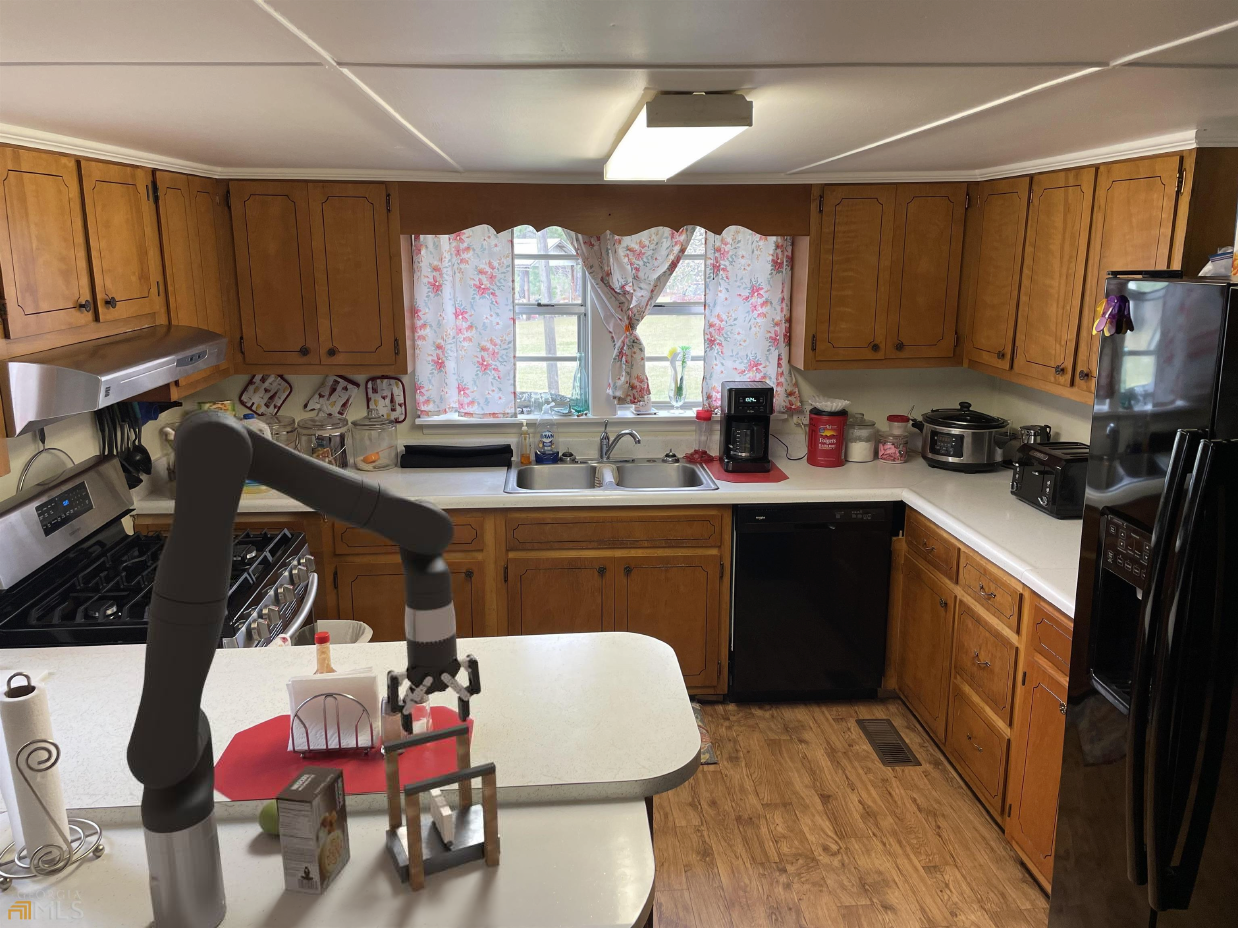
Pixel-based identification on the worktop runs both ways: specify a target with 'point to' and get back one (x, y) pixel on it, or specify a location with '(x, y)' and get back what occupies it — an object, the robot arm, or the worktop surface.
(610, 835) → the worktop surface
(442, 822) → the bar
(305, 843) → the coffee box
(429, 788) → the grey crossbeam plank
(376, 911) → the worktop surface
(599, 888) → the worktop surface
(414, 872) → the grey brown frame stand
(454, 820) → the breaker panel
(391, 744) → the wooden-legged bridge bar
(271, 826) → the green eggplant
